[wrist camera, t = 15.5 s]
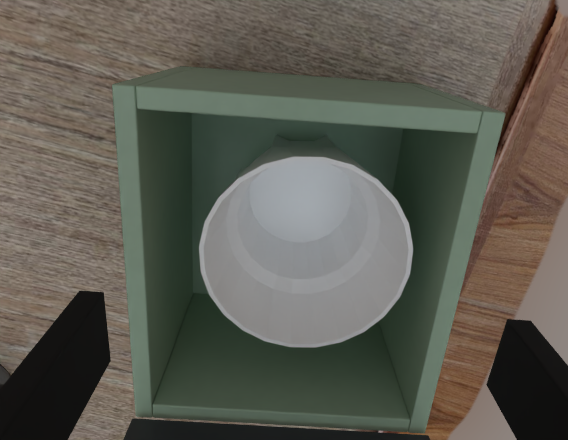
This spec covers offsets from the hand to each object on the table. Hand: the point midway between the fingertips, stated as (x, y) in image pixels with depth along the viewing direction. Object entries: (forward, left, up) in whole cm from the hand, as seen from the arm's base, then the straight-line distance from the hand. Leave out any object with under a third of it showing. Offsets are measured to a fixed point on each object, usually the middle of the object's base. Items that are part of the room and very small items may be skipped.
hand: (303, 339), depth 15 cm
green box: (+1, +1, -18) cm, 17 cm away
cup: (0, +1, -17) cm, 17 cm away
